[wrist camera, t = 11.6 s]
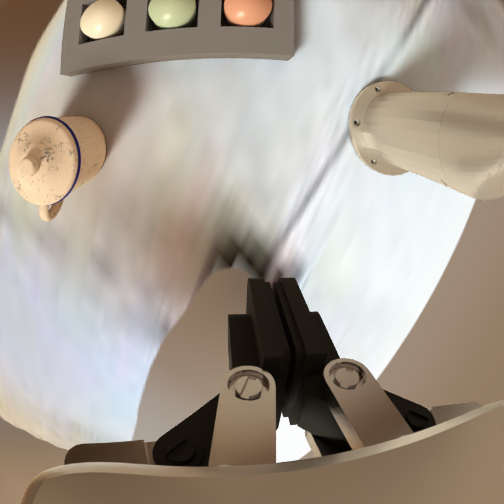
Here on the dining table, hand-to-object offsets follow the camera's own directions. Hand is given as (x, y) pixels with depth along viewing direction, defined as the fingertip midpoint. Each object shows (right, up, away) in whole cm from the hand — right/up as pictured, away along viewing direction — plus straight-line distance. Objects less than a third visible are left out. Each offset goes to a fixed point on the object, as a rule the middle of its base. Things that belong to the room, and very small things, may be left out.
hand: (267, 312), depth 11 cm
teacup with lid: (-23, +13, +21) cm, 33 cm away
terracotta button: (-1, +29, +15) cm, 33 cm away
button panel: (-9, +29, +15) cm, 34 cm away
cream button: (-17, +29, +13) cm, 36 cm away
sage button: (-9, +29, +14) cm, 34 cm away
